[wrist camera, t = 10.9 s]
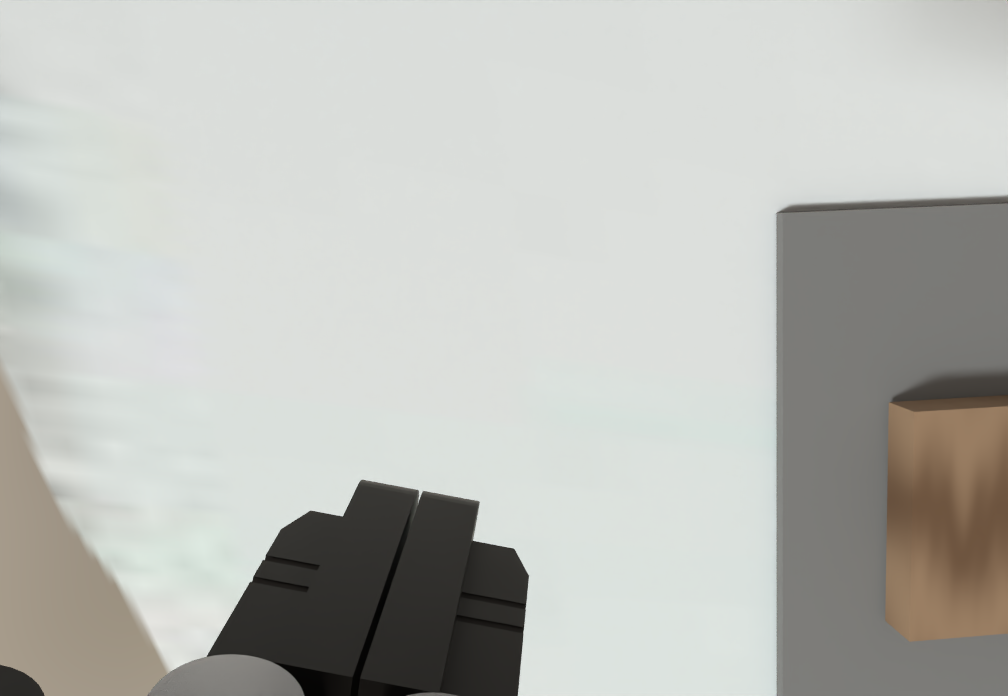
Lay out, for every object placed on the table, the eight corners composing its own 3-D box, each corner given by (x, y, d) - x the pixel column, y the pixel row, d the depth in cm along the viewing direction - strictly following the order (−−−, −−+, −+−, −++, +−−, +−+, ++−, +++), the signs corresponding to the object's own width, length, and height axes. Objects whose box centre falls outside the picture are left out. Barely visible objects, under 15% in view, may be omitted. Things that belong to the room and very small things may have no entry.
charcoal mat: (776, 212, 36) (782, 212, 36) (1164, 196, 37) (1176, 196, 37) (777, 788, 39) (782, 797, 39) (1133, 754, 41) (1144, 762, 40)
